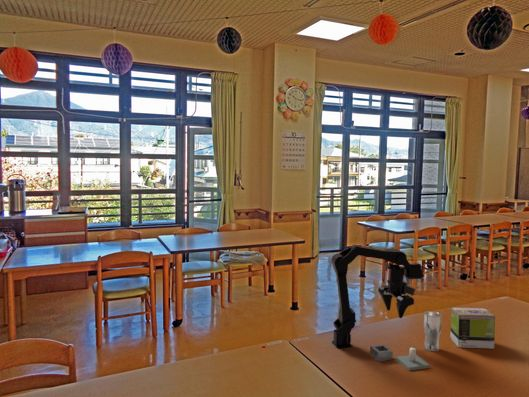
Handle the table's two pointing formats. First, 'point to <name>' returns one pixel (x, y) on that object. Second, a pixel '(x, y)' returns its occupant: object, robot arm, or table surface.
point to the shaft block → (412, 361)
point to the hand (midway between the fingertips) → (394, 314)
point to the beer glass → (432, 330)
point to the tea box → (472, 327)
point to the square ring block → (381, 352)
